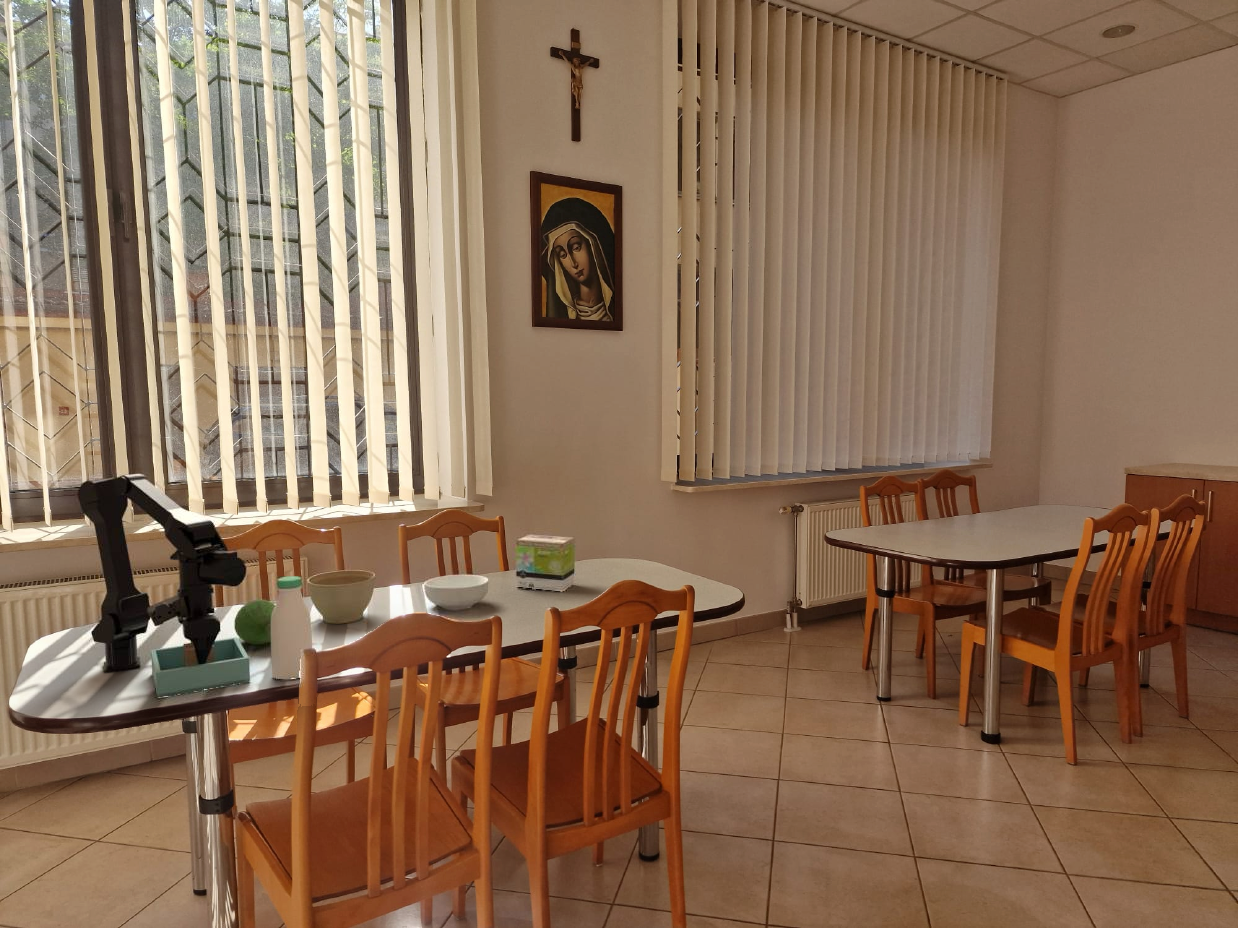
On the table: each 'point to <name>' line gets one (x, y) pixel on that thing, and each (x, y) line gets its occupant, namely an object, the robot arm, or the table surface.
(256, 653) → the table surface
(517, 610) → the table surface
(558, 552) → the tea box
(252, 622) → the fruit
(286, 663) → the milk bottle
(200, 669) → the teal bin
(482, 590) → the cereal bowl
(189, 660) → the walnut block
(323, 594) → the planter bowl
